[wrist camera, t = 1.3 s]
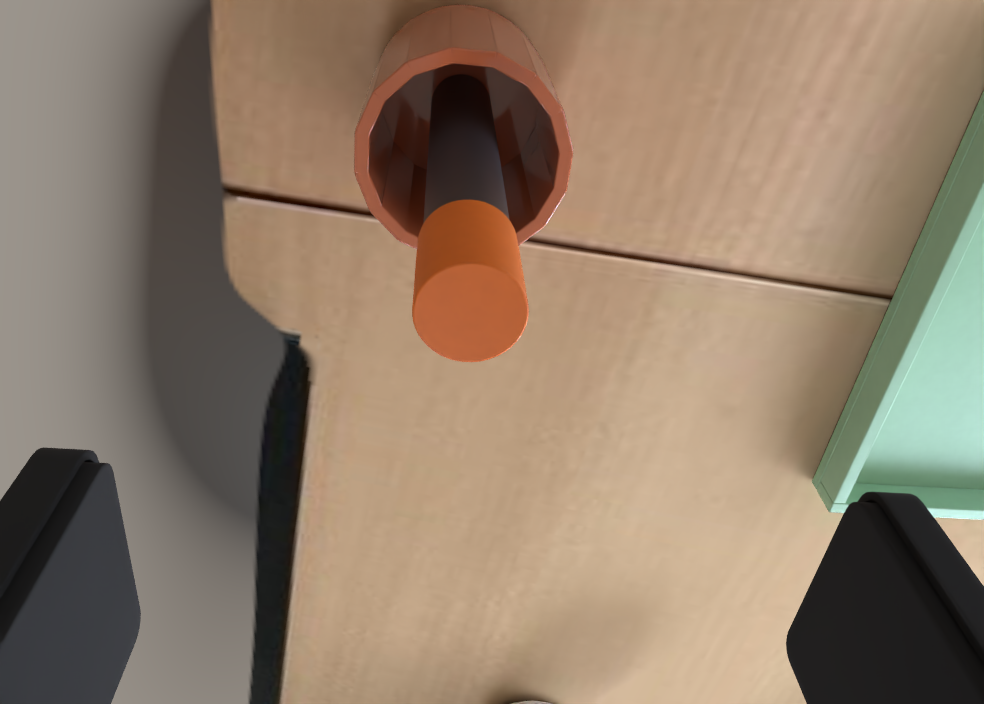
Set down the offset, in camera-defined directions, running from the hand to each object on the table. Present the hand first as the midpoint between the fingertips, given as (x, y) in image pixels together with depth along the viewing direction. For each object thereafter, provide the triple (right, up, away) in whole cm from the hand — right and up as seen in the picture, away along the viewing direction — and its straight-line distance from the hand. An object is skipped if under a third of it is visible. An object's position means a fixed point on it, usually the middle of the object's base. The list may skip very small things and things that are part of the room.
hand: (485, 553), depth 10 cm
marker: (-1, +11, +16) cm, 20 cm away
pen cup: (-1, +11, +17) cm, 21 cm away
